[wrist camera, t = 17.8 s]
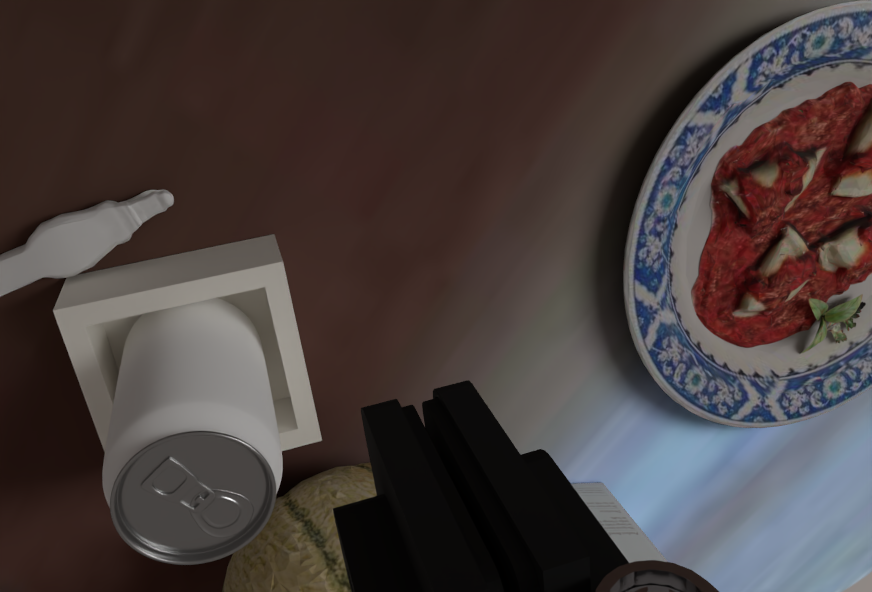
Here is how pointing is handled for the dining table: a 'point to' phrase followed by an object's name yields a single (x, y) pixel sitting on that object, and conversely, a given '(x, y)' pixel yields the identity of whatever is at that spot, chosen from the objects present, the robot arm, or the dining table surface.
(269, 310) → the can holder
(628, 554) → the supplement box
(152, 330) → the can
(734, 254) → the ceramic plate
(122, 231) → the white long tapered piece
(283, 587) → the cantaloupe
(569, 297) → the dining table surface
